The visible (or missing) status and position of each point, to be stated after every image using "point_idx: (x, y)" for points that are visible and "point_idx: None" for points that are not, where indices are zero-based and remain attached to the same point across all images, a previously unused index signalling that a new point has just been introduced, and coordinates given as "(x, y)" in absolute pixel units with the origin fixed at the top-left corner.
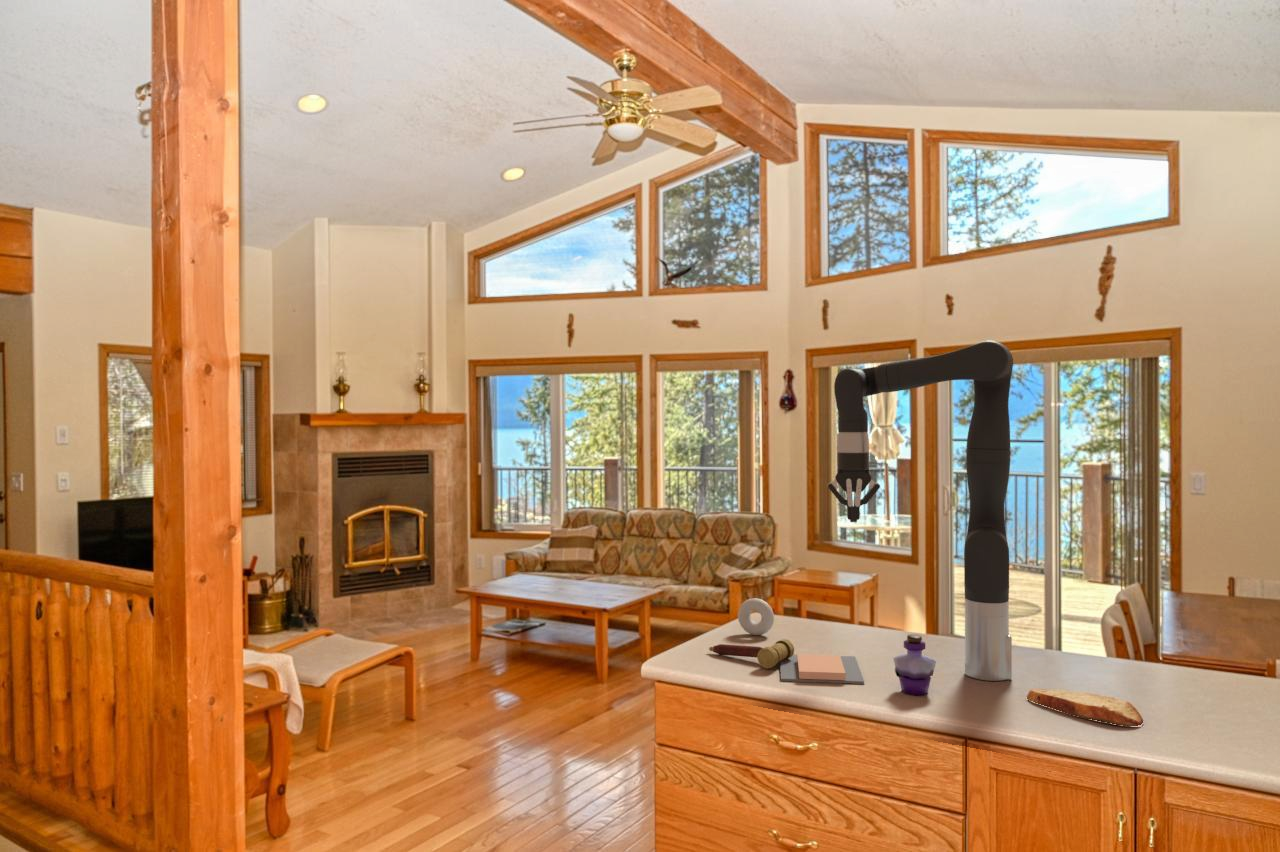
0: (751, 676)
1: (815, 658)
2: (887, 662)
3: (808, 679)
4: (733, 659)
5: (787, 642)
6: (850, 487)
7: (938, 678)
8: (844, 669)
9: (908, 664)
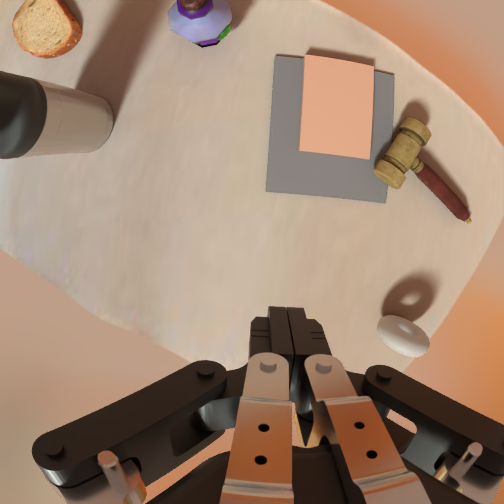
0: (427, 102)
1: (343, 132)
2: (214, 174)
3: None
4: None
5: (390, 168)
6: (361, 463)
7: (155, 96)
8: (296, 114)
9: None
